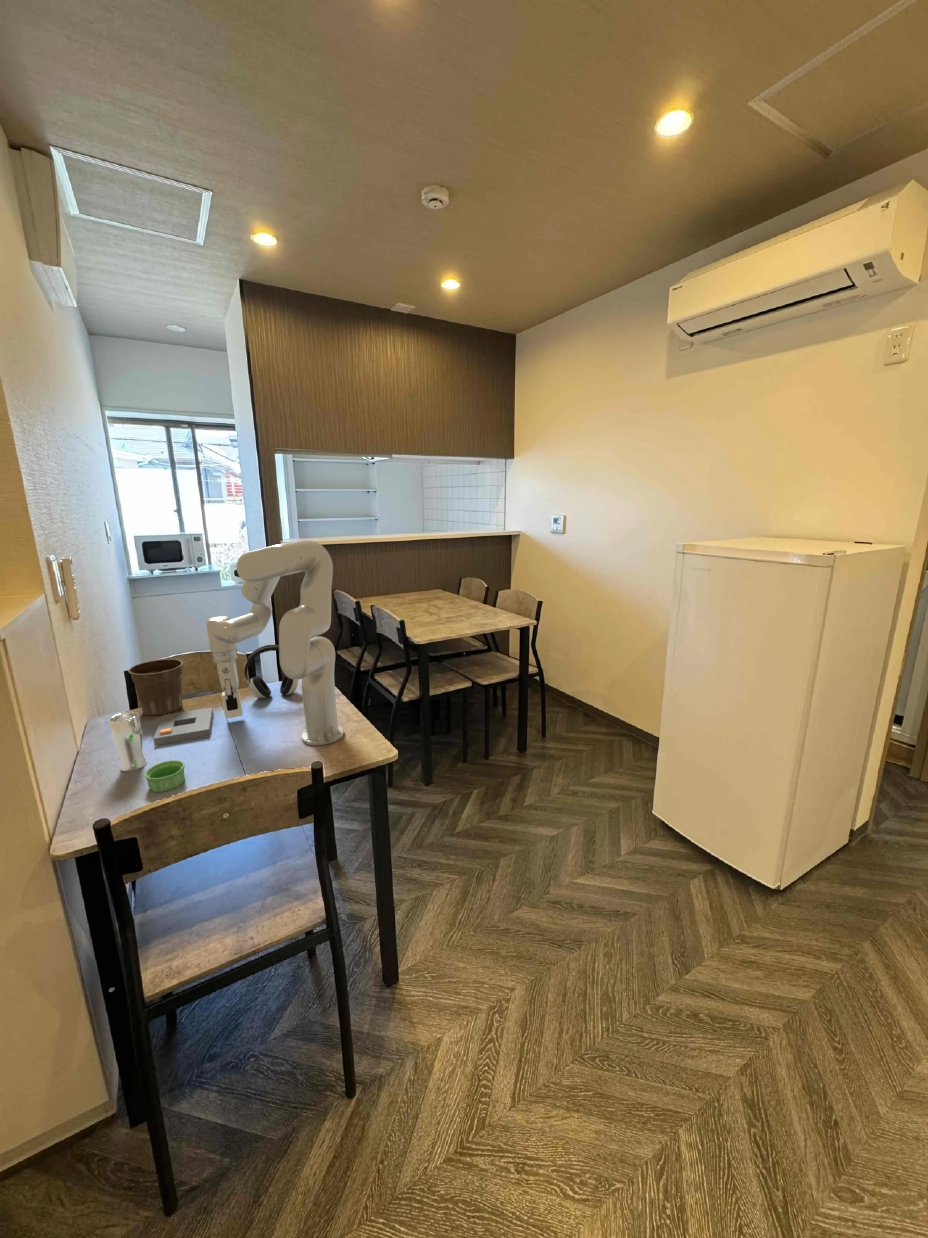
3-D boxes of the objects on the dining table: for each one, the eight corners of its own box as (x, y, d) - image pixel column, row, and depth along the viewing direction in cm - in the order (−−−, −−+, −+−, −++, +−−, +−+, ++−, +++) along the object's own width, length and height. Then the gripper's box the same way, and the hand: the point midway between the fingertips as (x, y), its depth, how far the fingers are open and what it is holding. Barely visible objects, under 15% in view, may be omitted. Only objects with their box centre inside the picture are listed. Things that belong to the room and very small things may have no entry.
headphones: (301, 688, 194) (296, 639, 189) (303, 696, 186) (298, 645, 181) (247, 696, 187) (240, 645, 182) (247, 705, 179) (240, 652, 174)
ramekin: (168, 772, 136) (165, 758, 135) (194, 777, 134) (192, 762, 133) (139, 791, 128) (135, 775, 127) (166, 796, 125) (163, 780, 124)
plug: (242, 715, 166) (238, 688, 163) (225, 718, 164) (221, 691, 161) (242, 711, 169) (238, 685, 166) (226, 714, 167) (221, 687, 164)
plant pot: (193, 697, 187) (186, 656, 183) (184, 714, 172) (177, 670, 168) (143, 703, 182) (135, 661, 178) (130, 722, 167) (121, 676, 163)
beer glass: (126, 775, 135) (116, 724, 131) (113, 768, 139) (103, 718, 135) (153, 763, 141) (144, 714, 137) (140, 757, 144) (131, 709, 141)
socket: (209, 736, 156) (208, 726, 156) (154, 745, 151) (152, 736, 150) (213, 713, 173) (212, 705, 172) (163, 721, 167) (162, 712, 166)
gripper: (236, 659, 155) (245, 714, 159) (237, 646, 170) (245, 696, 174) (209, 663, 152) (219, 719, 157) (213, 649, 167) (221, 701, 172)
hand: (232, 707), depth 165 cm, fingers closed on plug, 3 cm apart
